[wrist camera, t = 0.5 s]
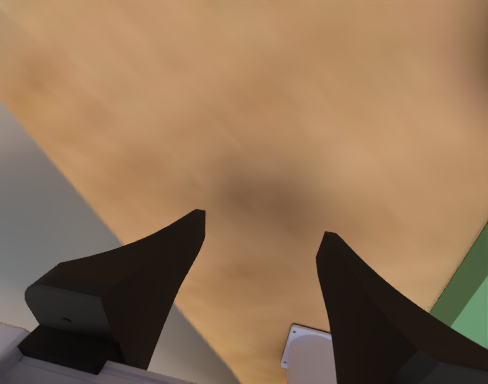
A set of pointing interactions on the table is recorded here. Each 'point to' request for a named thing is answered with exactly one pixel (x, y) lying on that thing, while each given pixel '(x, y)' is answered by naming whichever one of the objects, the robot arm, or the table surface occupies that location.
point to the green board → (468, 295)
